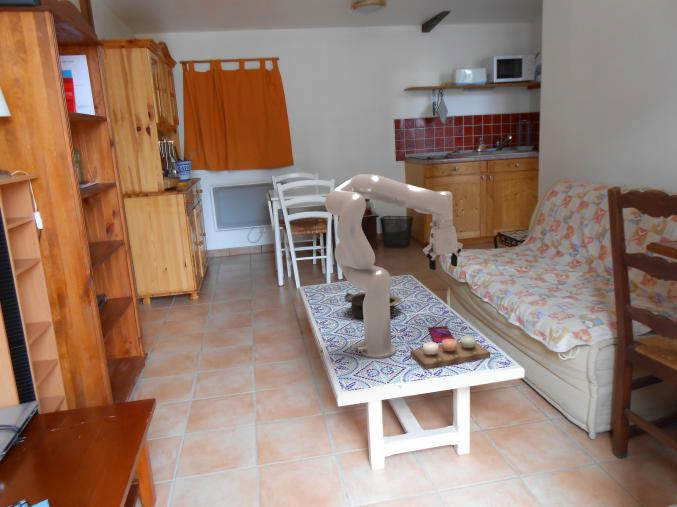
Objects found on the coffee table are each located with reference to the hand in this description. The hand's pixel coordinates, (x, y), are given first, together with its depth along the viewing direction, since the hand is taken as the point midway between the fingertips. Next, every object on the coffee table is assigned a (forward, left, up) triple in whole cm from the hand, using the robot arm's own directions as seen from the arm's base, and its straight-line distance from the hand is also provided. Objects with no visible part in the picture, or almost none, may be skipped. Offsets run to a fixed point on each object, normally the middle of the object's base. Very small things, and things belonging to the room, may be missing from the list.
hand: (443, 267), depth 195 cm
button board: (-11, -25, -25) cm, 37 cm away
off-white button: (-18, -25, -21) cm, 38 cm away
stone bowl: (-20, +29, -25) cm, 43 cm away
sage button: (-4, -25, -21) cm, 33 cm away
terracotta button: (-11, -25, -21) cm, 35 cm away
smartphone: (-5, -6, -25) cm, 26 cm away
